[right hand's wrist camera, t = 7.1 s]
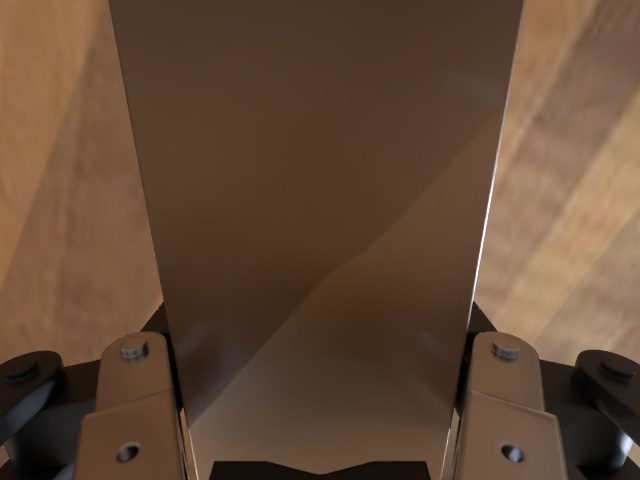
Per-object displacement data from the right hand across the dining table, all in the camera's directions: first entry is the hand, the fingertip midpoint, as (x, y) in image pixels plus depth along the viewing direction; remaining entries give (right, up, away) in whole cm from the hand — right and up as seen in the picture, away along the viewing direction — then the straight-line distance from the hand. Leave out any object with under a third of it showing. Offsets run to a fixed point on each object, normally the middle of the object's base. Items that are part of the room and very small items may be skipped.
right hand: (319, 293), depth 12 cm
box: (0, +9, +1) cm, 9 cm away
